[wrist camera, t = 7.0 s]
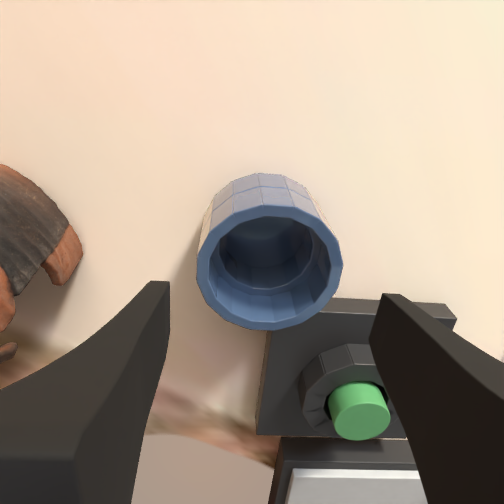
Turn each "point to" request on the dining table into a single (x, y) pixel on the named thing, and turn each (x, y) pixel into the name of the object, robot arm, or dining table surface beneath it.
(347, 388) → the button
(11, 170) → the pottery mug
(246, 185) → the cup
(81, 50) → the dining table surface
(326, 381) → the block
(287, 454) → the scale
